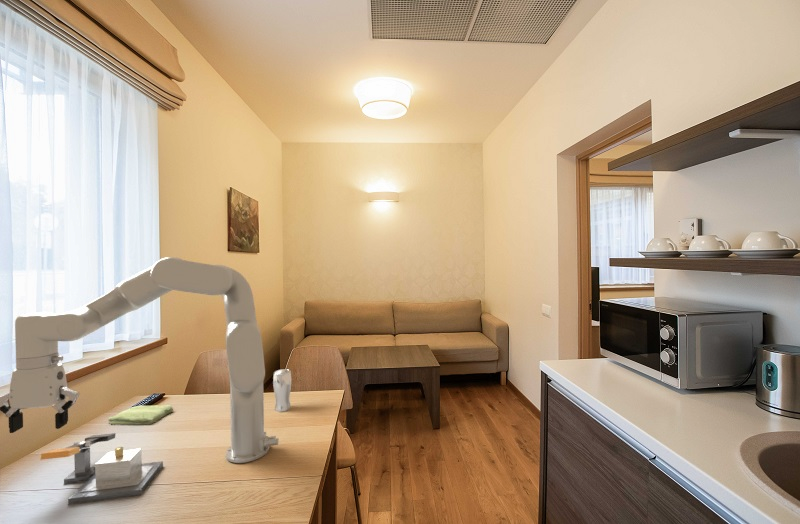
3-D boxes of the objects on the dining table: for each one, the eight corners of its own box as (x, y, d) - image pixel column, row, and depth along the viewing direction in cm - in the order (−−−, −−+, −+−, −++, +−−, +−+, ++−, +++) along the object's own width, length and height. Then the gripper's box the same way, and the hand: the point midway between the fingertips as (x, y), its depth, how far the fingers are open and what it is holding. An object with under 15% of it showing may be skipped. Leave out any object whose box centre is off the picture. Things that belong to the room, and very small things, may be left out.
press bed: (165, 462, 107) (165, 438, 106) (140, 495, 92) (139, 467, 92) (76, 472, 102) (75, 447, 102) (34, 509, 87) (33, 479, 87)
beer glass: (288, 412, 140) (288, 374, 140) (271, 412, 140) (270, 374, 140) (294, 405, 147) (293, 369, 147) (277, 405, 147) (276, 369, 147)
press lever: (115, 438, 110) (115, 432, 111) (68, 457, 90) (69, 450, 91) (92, 440, 109) (93, 434, 109) (40, 460, 89) (41, 453, 89)
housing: (141, 469, 100) (141, 441, 100) (130, 482, 95) (129, 452, 94) (109, 473, 99) (108, 444, 99) (95, 486, 93) (94, 456, 93)
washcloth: (134, 410, 144) (134, 402, 144) (175, 411, 143) (175, 403, 143) (104, 426, 131) (104, 417, 131) (149, 427, 130) (149, 418, 130)
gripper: (86, 355, 96) (88, 418, 96) (9, 359, 92) (11, 425, 93) (67, 363, 89) (68, 431, 89) (-18, 368, 85) (-16, 439, 85)
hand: (39, 428), depth 91 cm, fingers open, 9 cm apart
